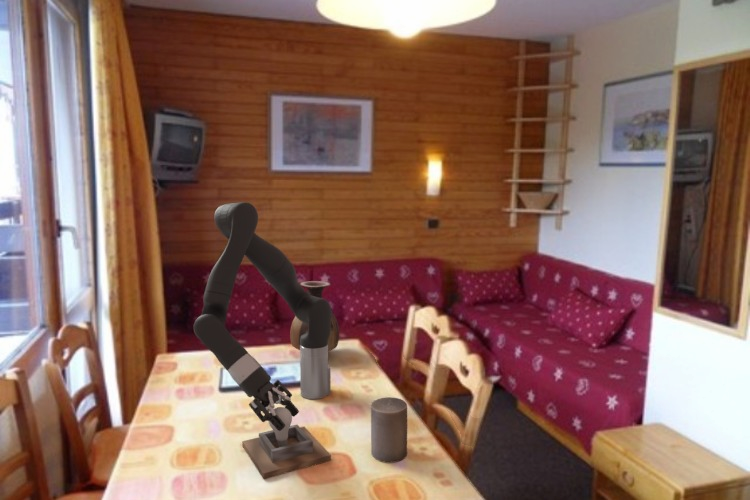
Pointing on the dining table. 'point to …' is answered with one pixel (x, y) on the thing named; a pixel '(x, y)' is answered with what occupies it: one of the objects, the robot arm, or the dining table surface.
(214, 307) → the robot arm
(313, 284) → the vase
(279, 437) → the lightbulb
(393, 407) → the pillar candle
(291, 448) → the bulb socket
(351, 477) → the dining table surface
